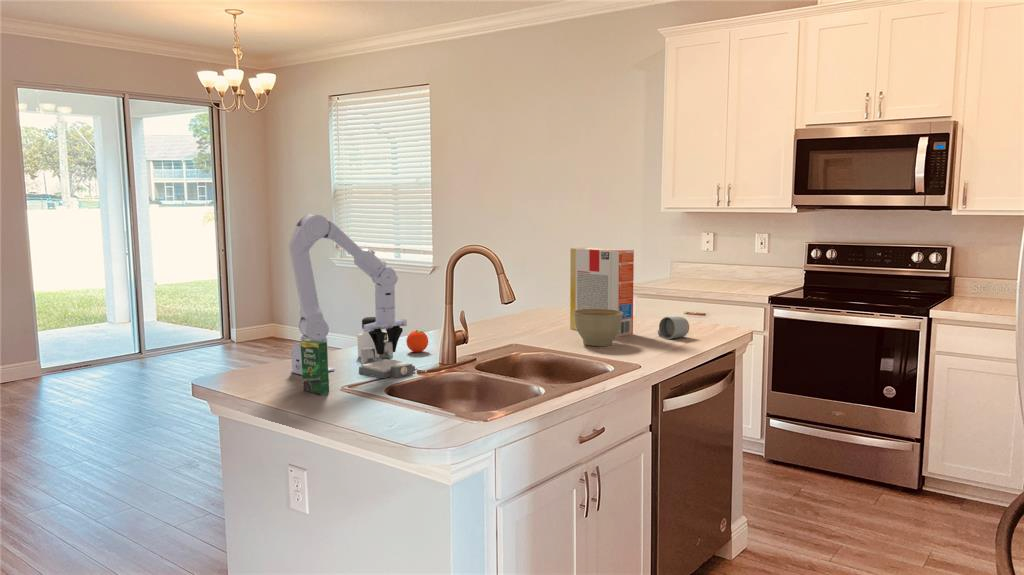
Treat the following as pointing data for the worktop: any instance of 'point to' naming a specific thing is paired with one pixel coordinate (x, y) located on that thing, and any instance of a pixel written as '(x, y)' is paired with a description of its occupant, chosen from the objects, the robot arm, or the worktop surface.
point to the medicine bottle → (367, 337)
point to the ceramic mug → (673, 327)
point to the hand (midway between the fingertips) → (386, 352)
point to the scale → (387, 369)
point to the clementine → (417, 341)
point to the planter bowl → (598, 325)
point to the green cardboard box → (315, 366)
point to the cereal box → (602, 283)
